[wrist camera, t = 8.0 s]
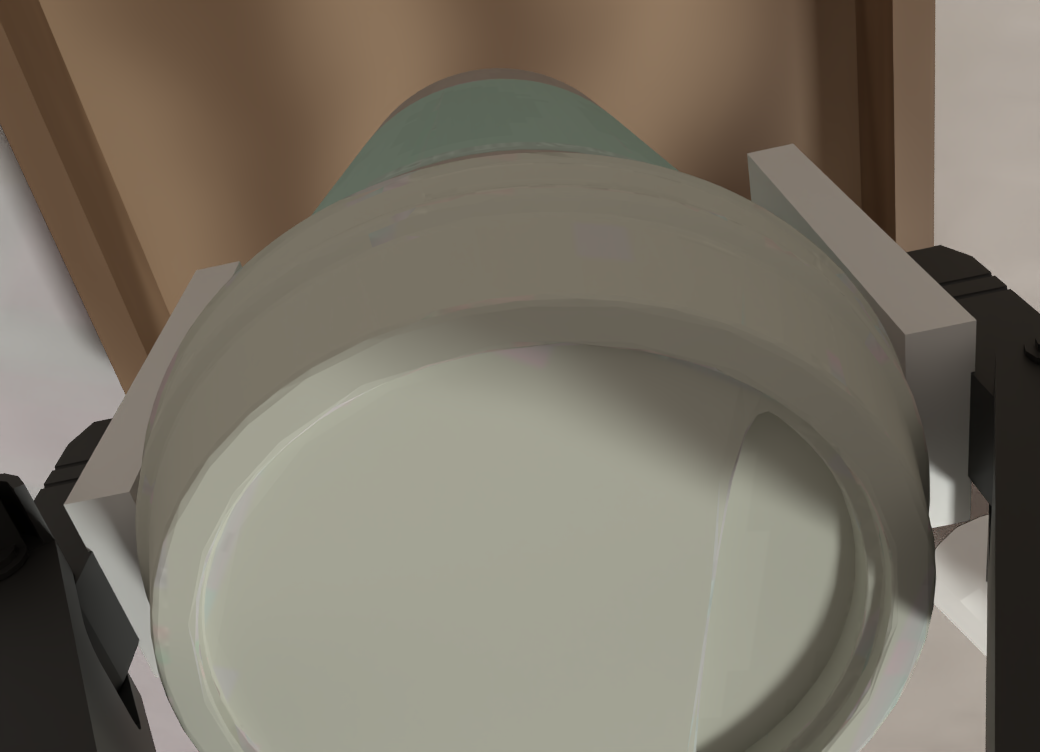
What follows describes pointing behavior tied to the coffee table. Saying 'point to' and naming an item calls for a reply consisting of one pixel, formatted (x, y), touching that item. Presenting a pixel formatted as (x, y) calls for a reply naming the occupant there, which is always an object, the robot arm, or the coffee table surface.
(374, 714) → the coffee cup
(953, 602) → the heart sculpture
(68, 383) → the coffee table surface
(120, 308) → the walnut tray
